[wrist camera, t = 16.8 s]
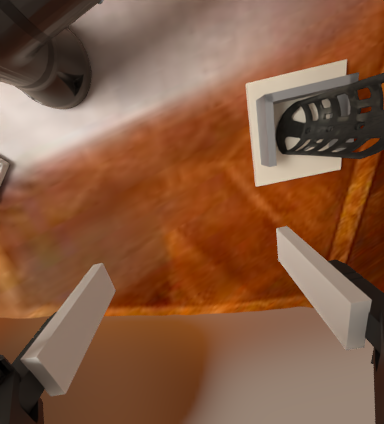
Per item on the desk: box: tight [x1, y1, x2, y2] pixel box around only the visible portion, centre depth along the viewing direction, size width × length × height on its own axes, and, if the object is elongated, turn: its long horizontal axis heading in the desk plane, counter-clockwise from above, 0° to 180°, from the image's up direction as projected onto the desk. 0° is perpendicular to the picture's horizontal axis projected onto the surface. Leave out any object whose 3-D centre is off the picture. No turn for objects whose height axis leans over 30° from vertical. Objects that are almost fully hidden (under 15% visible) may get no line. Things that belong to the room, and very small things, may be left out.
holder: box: [276, 73, 384, 159], centre depth 32 cm, size 11×8×20 cm
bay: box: [246, 59, 359, 186], centre depth 40 cm, size 22×20×6 cm
